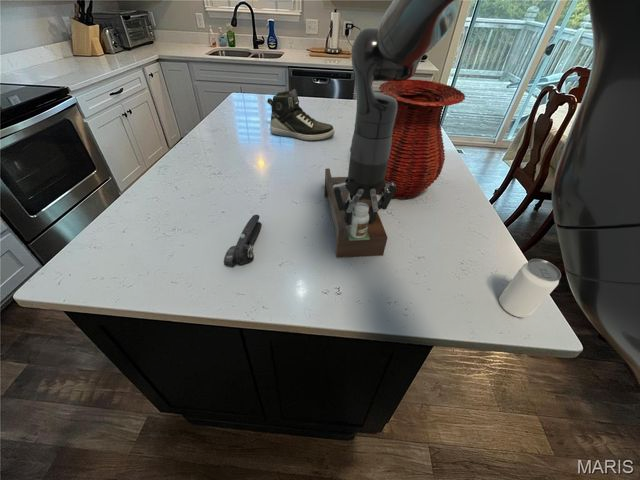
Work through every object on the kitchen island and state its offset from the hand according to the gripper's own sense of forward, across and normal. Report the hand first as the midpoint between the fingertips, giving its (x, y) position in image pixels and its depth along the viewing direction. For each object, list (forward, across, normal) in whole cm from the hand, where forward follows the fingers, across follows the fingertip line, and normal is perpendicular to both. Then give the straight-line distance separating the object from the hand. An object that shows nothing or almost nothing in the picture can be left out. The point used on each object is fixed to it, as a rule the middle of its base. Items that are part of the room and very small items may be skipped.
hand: (359, 222), depth 68 cm
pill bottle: (+3, 0, 0) cm, 3 cm away
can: (+10, +32, -19) cm, 38 cm away
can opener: (+10, -27, +4) cm, 29 cm away
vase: (+10, +20, +29) cm, 37 cm away
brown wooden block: (+10, +1, +12) cm, 16 cm away
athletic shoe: (+10, -10, +71) cm, 73 cm away
